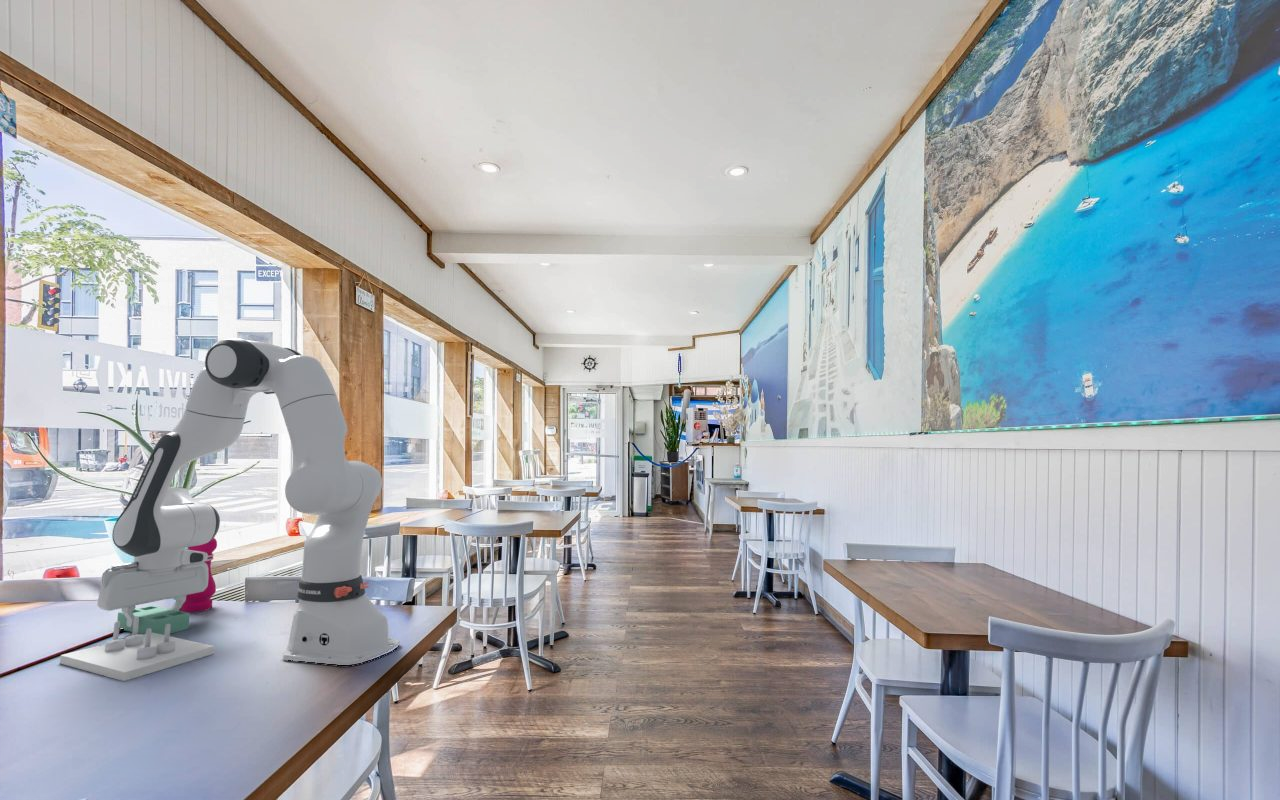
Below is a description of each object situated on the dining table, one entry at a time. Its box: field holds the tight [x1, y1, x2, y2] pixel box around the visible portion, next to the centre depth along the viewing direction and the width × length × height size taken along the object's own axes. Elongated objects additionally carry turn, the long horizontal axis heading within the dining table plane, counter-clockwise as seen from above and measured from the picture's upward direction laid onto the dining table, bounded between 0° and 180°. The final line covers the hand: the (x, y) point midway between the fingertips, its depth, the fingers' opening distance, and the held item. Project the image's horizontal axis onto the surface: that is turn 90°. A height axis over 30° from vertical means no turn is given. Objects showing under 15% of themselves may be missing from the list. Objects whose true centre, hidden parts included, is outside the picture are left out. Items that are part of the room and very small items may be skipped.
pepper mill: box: [180, 537, 218, 613], centre depth 145 cm, size 7×7×20 cm
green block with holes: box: [116, 605, 191, 635], centre depth 128 cm, size 14×6×4 cm, turn 69°
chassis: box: [59, 617, 215, 682], centre depth 111 cm, size 20×15×7 cm
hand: (153, 620), depth 128 cm, fingers closed on green block with holes, 6 cm apart
